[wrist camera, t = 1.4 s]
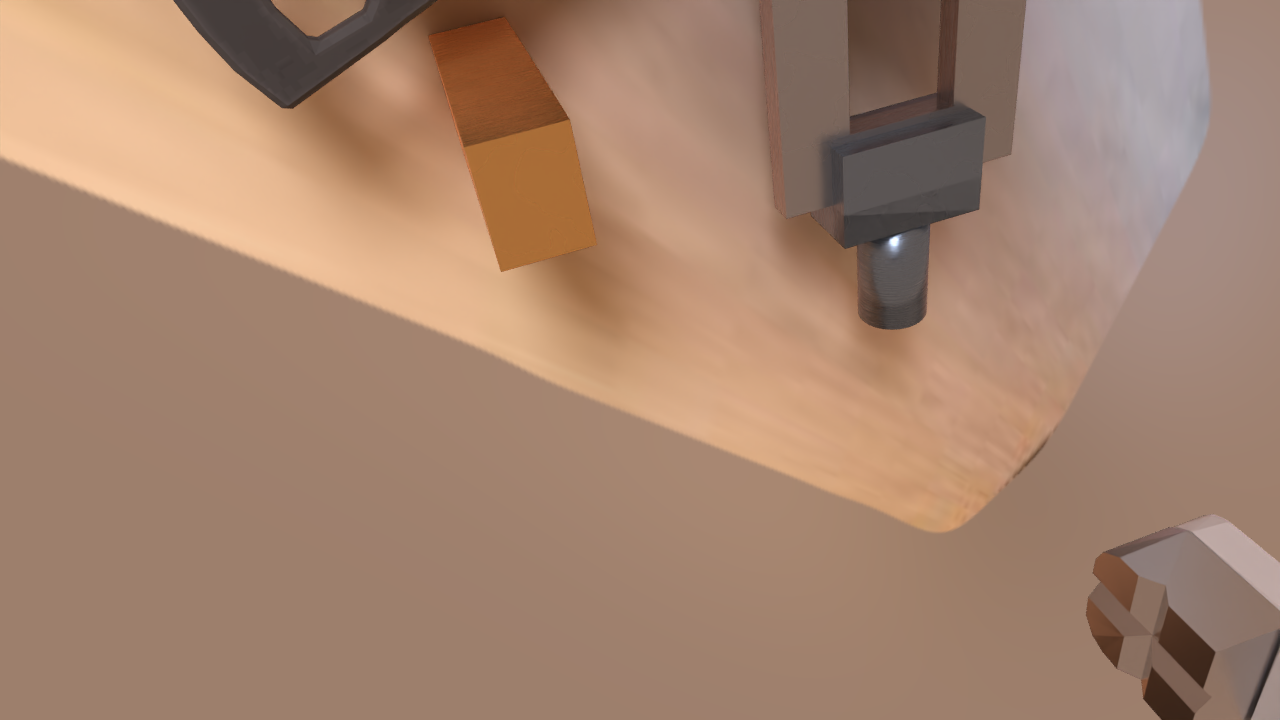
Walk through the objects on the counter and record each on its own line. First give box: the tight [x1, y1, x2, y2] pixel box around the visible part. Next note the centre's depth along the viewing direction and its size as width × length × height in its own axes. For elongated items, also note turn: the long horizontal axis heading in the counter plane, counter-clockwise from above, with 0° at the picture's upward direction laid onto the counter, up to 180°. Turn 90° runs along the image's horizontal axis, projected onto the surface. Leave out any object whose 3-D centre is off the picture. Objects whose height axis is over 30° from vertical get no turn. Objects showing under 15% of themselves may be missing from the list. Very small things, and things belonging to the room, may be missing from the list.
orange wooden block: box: [428, 17, 597, 272], centre depth 30 cm, size 4×3×12 cm
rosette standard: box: [759, 0, 1026, 330], centre depth 31 cm, size 23×10×18 cm, turn 9°
